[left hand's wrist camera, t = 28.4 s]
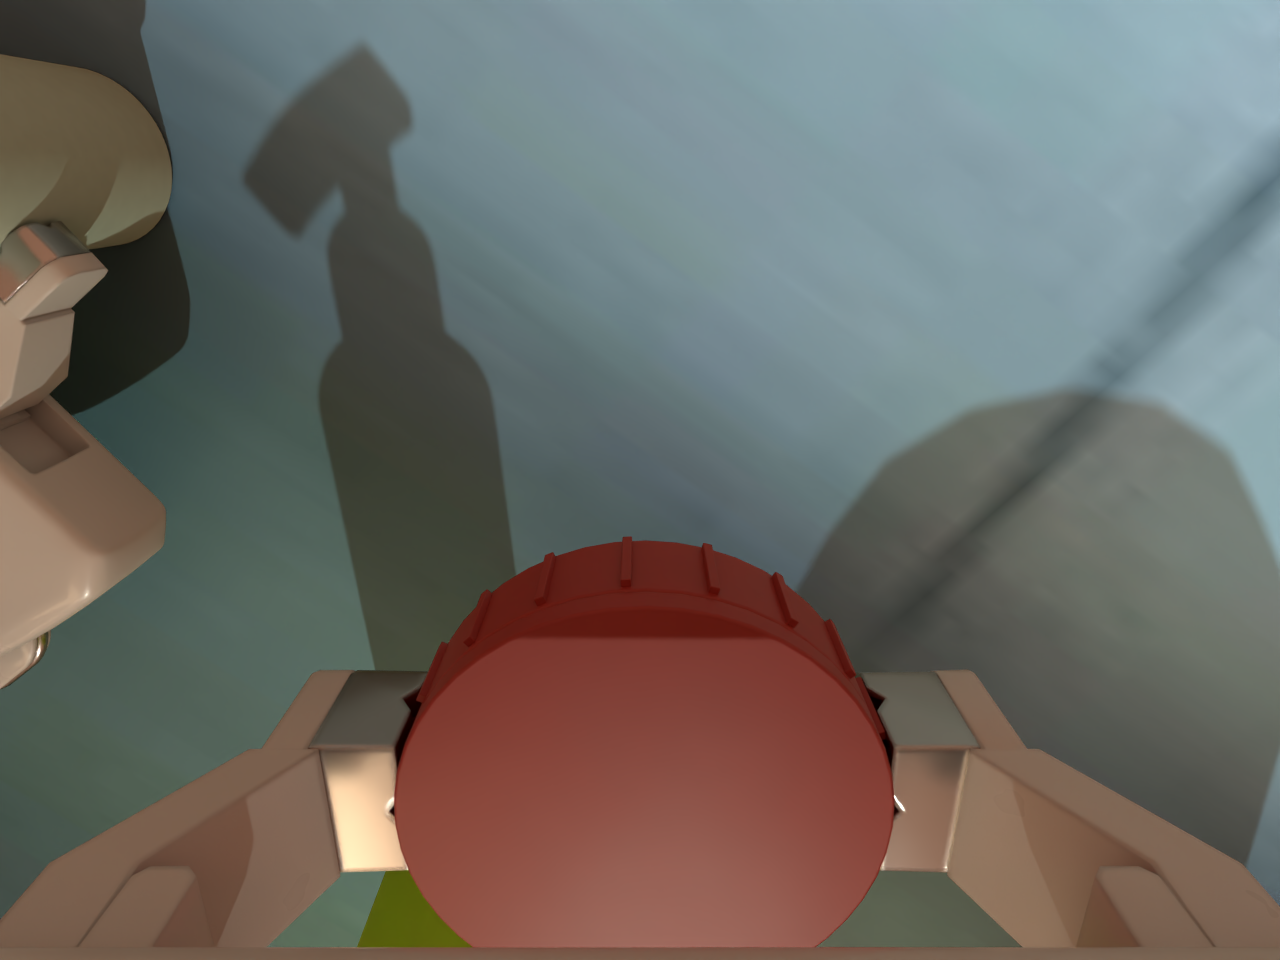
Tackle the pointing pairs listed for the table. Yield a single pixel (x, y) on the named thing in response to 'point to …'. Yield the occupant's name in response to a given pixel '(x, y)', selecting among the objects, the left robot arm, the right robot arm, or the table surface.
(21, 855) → the table surface
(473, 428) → the table surface
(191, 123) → the table surface
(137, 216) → the jar
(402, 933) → the soap dispenser
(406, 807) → the lid
